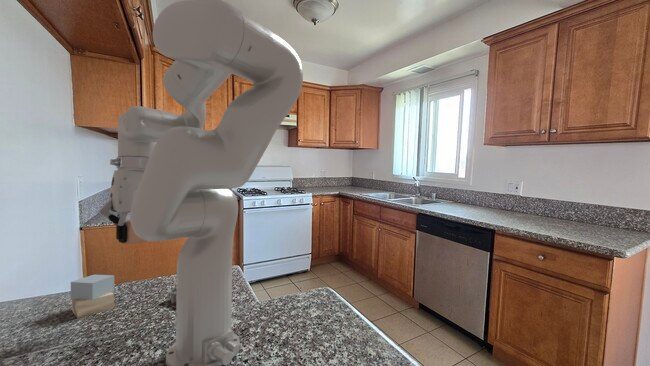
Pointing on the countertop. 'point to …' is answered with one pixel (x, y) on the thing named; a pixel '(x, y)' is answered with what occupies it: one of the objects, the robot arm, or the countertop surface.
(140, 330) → the countertop surface
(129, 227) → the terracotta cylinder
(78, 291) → the tower top block
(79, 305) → the tower base block
